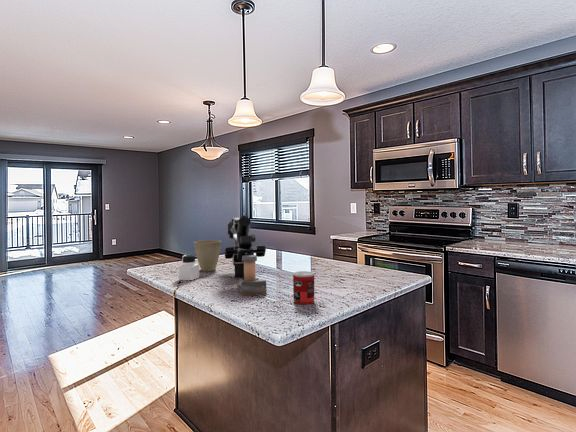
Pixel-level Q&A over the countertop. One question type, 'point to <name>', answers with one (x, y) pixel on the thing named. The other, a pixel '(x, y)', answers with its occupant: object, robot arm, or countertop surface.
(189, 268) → the medicine bottle
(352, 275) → the countertop surface
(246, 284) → the mount
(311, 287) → the canned food
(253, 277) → the orange jar
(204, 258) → the plant pot
